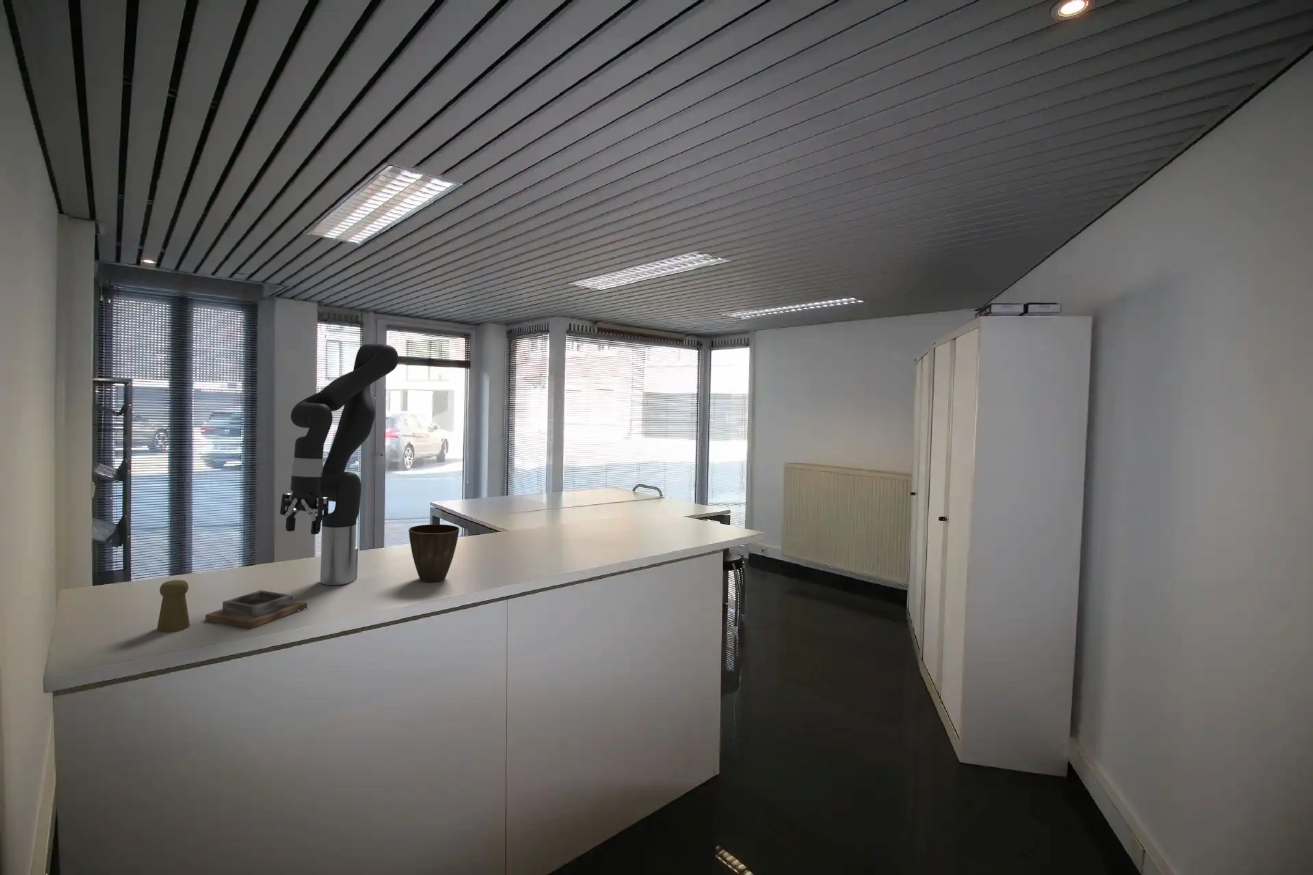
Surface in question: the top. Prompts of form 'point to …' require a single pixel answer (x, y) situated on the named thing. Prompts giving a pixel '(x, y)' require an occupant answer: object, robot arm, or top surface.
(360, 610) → the top surface
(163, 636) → the top surface
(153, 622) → the top surface
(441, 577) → the plant pot
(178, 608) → the cork
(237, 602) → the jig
